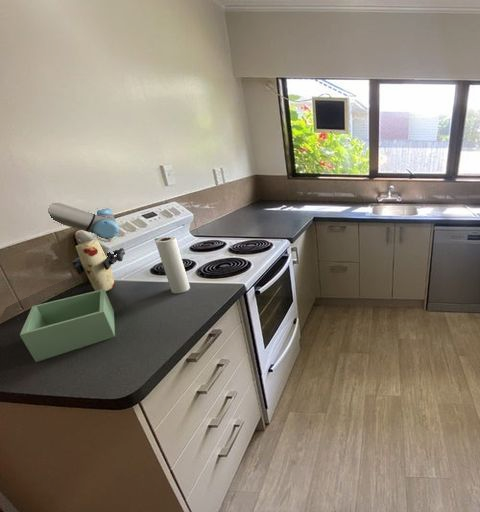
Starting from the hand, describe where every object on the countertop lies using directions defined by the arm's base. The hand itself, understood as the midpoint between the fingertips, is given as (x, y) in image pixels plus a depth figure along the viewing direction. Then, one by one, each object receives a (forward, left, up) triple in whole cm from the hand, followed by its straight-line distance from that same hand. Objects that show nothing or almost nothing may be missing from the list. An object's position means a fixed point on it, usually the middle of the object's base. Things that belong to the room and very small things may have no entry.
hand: (92, 268), depth 105 cm
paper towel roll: (+15, +23, -11) cm, 30 cm away
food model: (-5, +1, -11) cm, 12 cm away
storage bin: (+27, -5, -11) cm, 30 cm away
